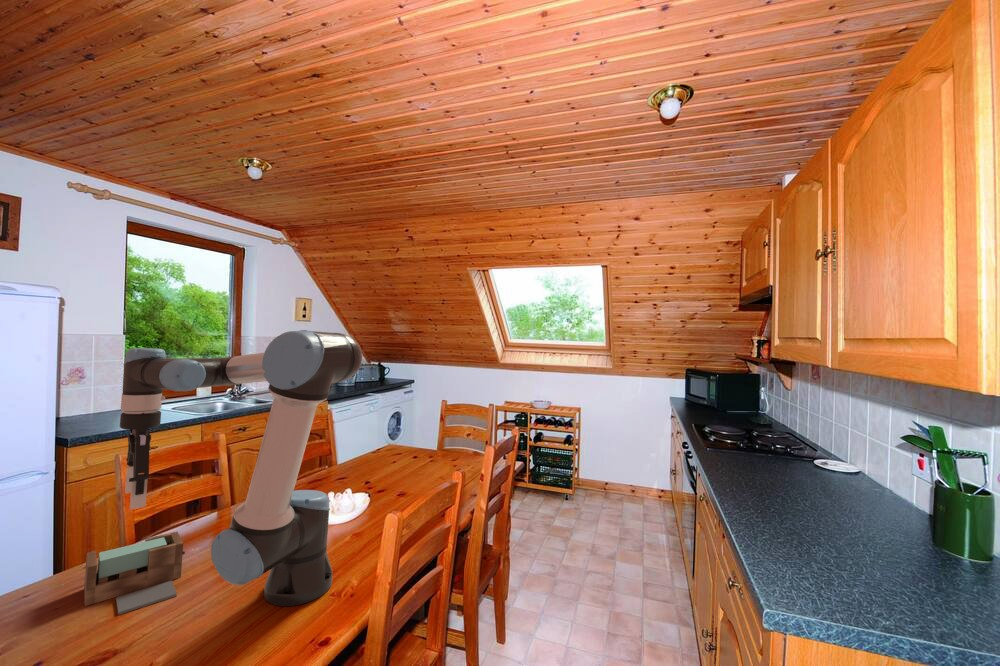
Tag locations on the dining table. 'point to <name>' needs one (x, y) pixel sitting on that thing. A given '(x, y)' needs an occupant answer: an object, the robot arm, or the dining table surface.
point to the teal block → (126, 557)
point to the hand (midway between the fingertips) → (134, 499)
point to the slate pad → (145, 597)
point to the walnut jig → (135, 572)
